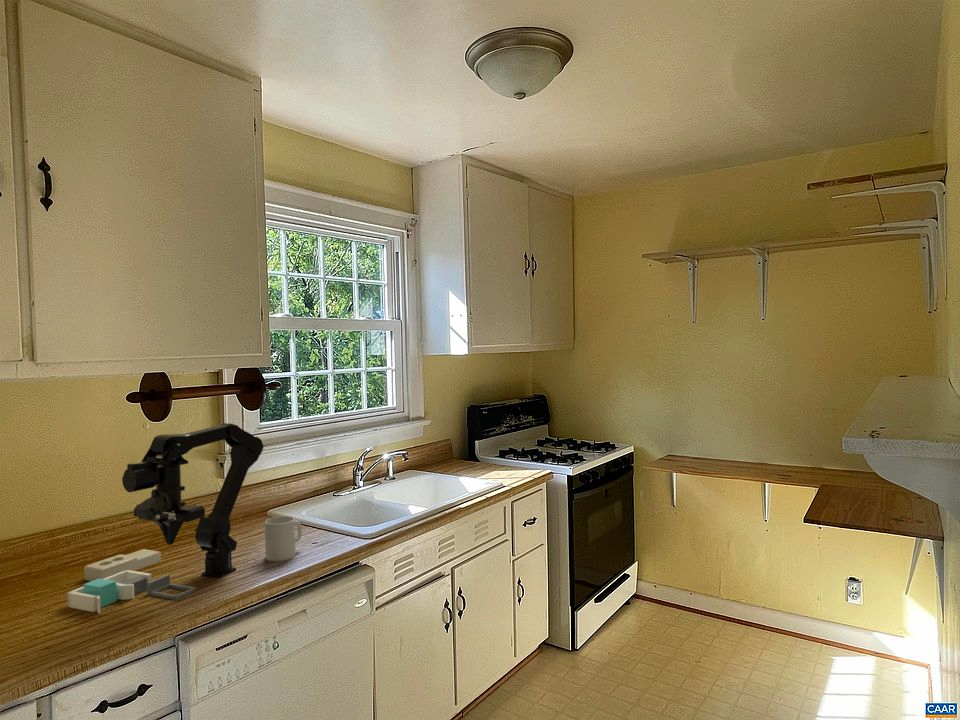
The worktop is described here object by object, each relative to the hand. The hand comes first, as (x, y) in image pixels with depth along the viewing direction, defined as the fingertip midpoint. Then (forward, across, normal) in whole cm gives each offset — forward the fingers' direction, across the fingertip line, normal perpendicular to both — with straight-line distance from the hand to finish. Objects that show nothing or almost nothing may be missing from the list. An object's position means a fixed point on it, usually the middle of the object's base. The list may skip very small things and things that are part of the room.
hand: (170, 544), depth 158 cm
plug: (+12, -11, -11) cm, 20 cm away
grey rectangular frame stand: (+12, +2, -1) cm, 12 cm away
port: (+12, -11, -8) cm, 18 cm away
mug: (+12, +10, +32) cm, 36 cm away
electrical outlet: (+13, -26, +7) cm, 30 cm away
